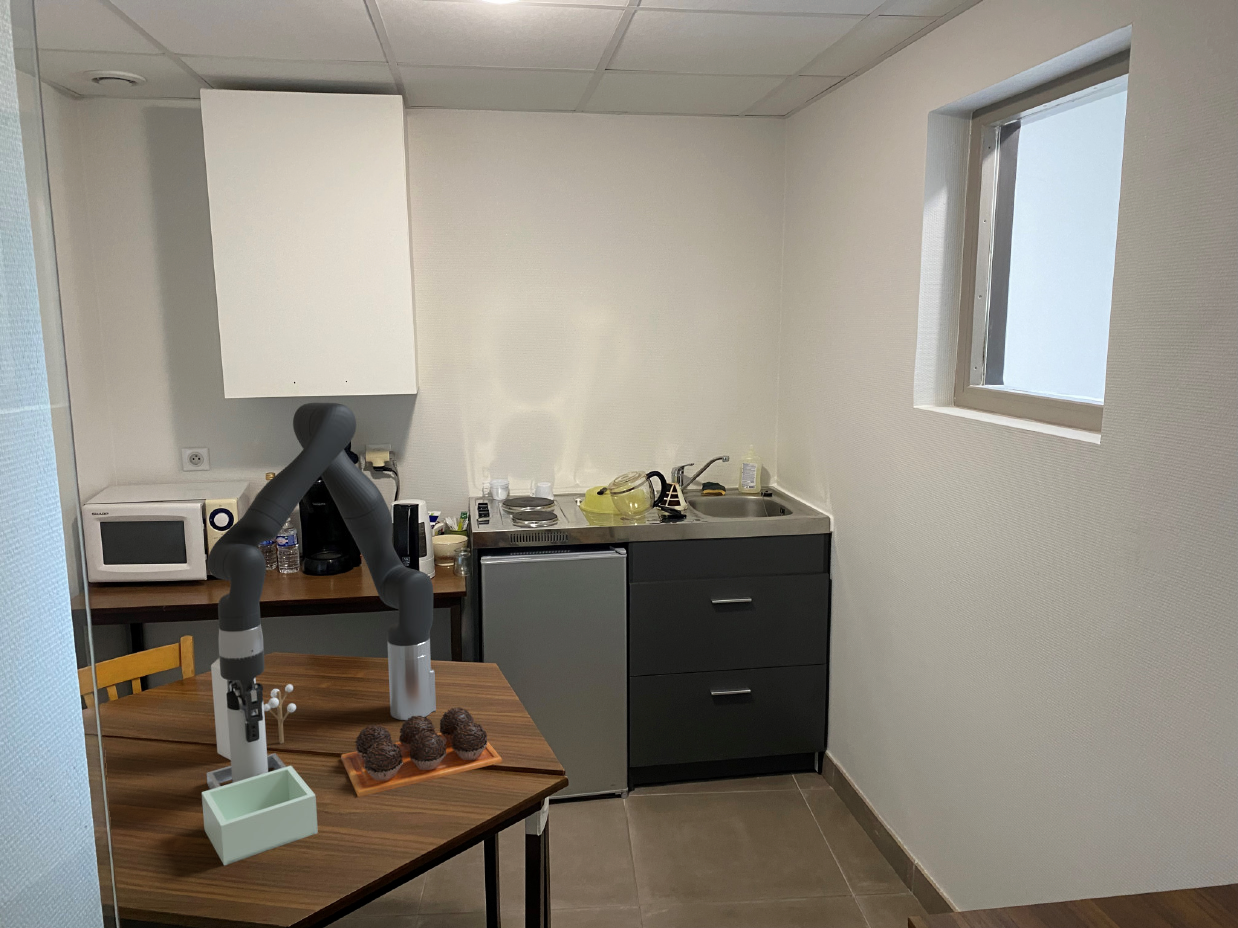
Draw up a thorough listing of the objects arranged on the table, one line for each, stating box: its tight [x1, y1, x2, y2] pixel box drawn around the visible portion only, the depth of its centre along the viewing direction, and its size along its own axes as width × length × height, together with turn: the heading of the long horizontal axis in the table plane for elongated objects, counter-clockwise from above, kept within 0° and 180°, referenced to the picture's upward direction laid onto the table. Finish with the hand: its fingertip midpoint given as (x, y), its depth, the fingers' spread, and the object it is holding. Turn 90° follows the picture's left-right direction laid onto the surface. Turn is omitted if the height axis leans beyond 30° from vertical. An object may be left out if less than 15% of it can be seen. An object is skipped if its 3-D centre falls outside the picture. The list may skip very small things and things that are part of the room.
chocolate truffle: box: [340, 707, 503, 798], centre depth 173 cm, size 28×17×8 cm, turn 118°
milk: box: [210, 657, 257, 761], centre depth 176 cm, size 6×6×22 cm
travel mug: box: [226, 682, 269, 783], centre depth 162 cm, size 6×7×20 cm
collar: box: [206, 752, 287, 790], centre depth 164 cm, size 13×12×2 cm
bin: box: [201, 765, 319, 866], centre depth 148 cm, size 15×13×7 cm
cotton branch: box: [263, 683, 297, 744], centre depth 181 cm, size 7×6×12 cm
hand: (246, 732), depth 162 cm, fingers open, 8 cm apart
